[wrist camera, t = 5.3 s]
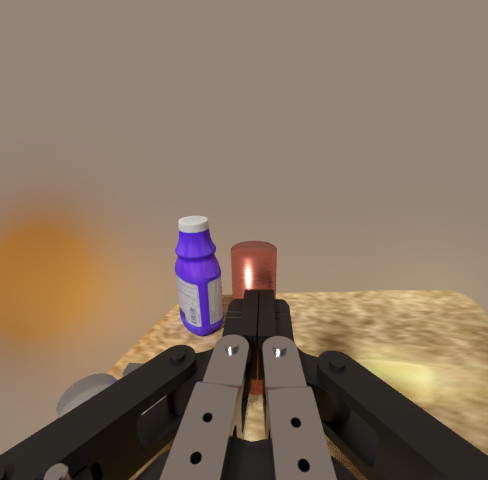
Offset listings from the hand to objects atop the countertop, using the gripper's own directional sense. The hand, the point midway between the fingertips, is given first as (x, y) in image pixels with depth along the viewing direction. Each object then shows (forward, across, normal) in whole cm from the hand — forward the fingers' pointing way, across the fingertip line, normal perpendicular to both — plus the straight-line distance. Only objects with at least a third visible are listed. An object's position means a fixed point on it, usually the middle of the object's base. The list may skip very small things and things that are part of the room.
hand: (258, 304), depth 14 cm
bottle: (+23, +10, +20) cm, 32 cm away
